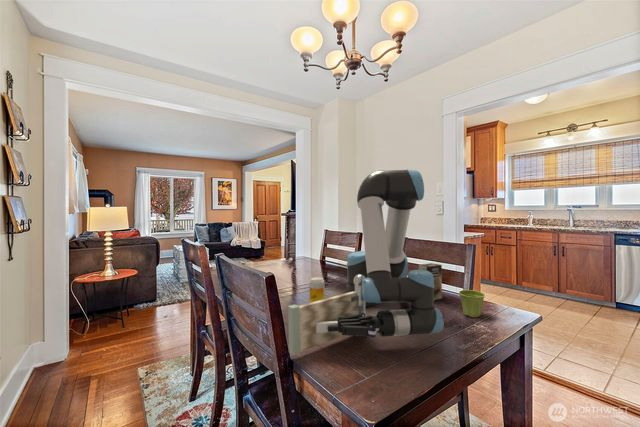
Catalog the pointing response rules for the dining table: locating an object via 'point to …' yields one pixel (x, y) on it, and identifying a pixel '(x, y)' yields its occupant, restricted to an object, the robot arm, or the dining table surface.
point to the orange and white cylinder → (316, 289)
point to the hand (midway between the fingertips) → (316, 327)
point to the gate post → (359, 294)
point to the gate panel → (317, 320)
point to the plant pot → (472, 302)
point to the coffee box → (435, 277)
